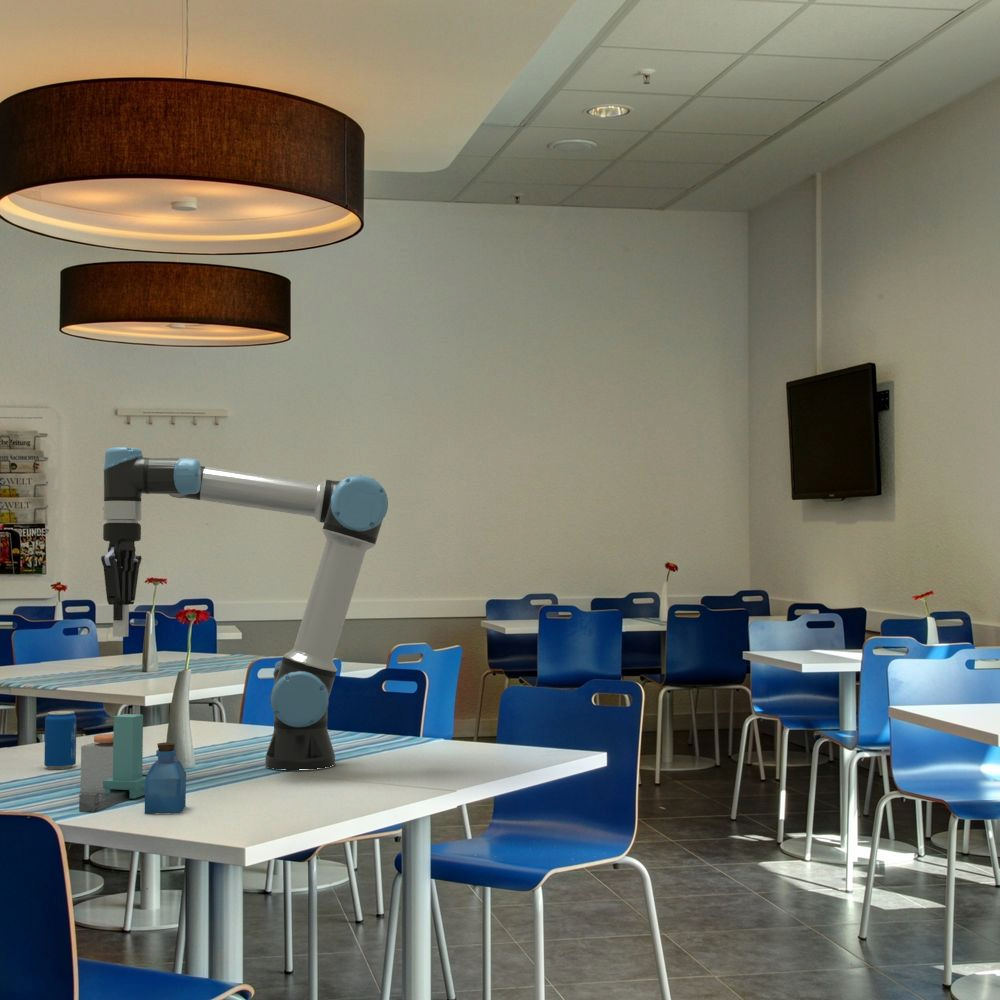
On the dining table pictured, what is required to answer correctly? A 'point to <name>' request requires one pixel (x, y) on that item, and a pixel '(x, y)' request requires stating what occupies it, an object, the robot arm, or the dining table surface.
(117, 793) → the rail
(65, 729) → the beverage can
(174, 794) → the perfume bottle
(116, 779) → the carriage
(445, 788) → the dining table surface
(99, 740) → the orange push button
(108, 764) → the button housing
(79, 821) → the dining table surface
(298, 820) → the dining table surface
